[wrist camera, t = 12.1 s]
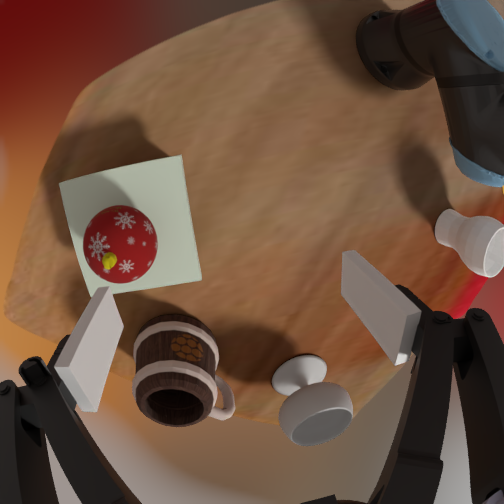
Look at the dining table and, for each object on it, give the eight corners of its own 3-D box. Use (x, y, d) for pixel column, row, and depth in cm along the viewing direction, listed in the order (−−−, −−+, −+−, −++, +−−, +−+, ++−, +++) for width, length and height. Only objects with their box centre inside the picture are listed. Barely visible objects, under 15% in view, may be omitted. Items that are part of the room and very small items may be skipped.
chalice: (285, 344, 55) (310, 401, 42) (341, 355, 59) (372, 404, 46) (256, 392, 59) (271, 448, 45) (310, 399, 63) (332, 448, 50)
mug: (121, 349, 50) (106, 409, 36) (165, 294, 48) (156, 354, 34) (205, 394, 57) (211, 453, 43) (254, 351, 55) (271, 410, 41)
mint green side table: (81, 174, 38) (58, 183, 31) (184, 152, 40) (180, 155, 33) (105, 272, 44) (90, 297, 37) (200, 257, 46) (201, 280, 39)
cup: (421, 231, 52) (475, 260, 38) (449, 191, 50) (504, 211, 36) (442, 259, 56) (489, 290, 42) (467, 222, 54) (516, 246, 40)
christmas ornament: (161, 197, 34) (147, 219, 25) (163, 264, 37) (153, 305, 28) (93, 199, 33) (60, 221, 23) (100, 264, 36) (74, 303, 26)
